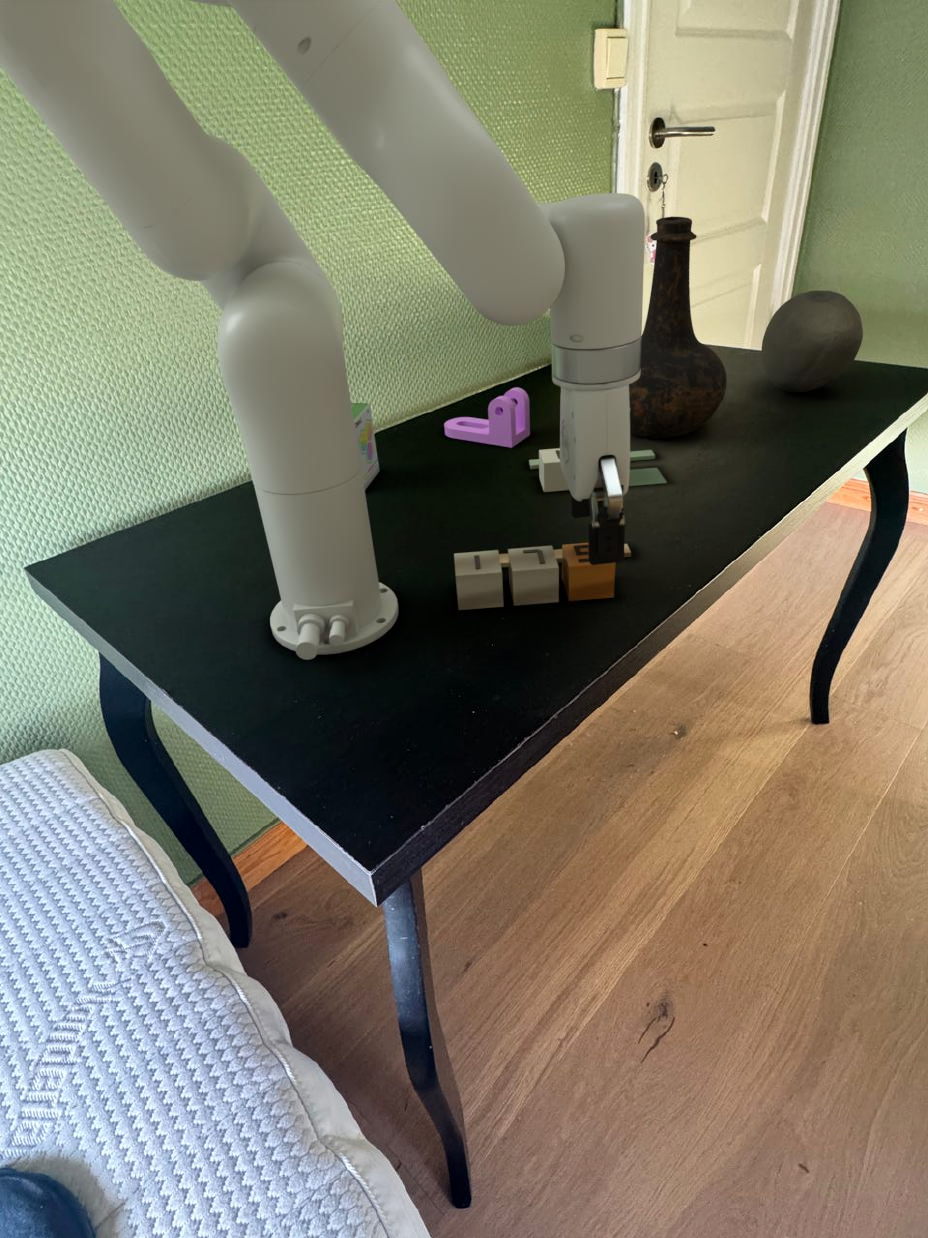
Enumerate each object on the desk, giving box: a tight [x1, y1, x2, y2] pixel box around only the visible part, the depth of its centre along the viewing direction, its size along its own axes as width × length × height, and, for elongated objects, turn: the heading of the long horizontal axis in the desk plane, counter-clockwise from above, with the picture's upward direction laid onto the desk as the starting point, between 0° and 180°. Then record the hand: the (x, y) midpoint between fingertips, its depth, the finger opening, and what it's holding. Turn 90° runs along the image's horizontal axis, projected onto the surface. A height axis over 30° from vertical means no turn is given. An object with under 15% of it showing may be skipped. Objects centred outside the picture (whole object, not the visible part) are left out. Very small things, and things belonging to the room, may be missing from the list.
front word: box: [453, 543, 632, 611], centre depth 79 cm, size 10×19×4 cm, turn 93°
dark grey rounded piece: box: [760, 290, 864, 393], centre depth 118 cm, size 14×14×15 cm
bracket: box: [443, 386, 531, 449], centre depth 114 cm, size 13×6×7 cm, turn 58°
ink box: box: [351, 402, 380, 491], centre depth 100 cm, size 7×4×13 cm, turn 168°
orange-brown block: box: [561, 542, 616, 602], centre depth 76 cm, size 4×4×4 cm
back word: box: [528, 447, 668, 493], centre depth 100 cm, size 10×17×4 cm, turn 93°
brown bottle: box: [629, 216, 728, 439], centre depth 106 cm, size 18×18×28 cm
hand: (596, 537), depth 74 cm, fingers open, 9 cm apart
